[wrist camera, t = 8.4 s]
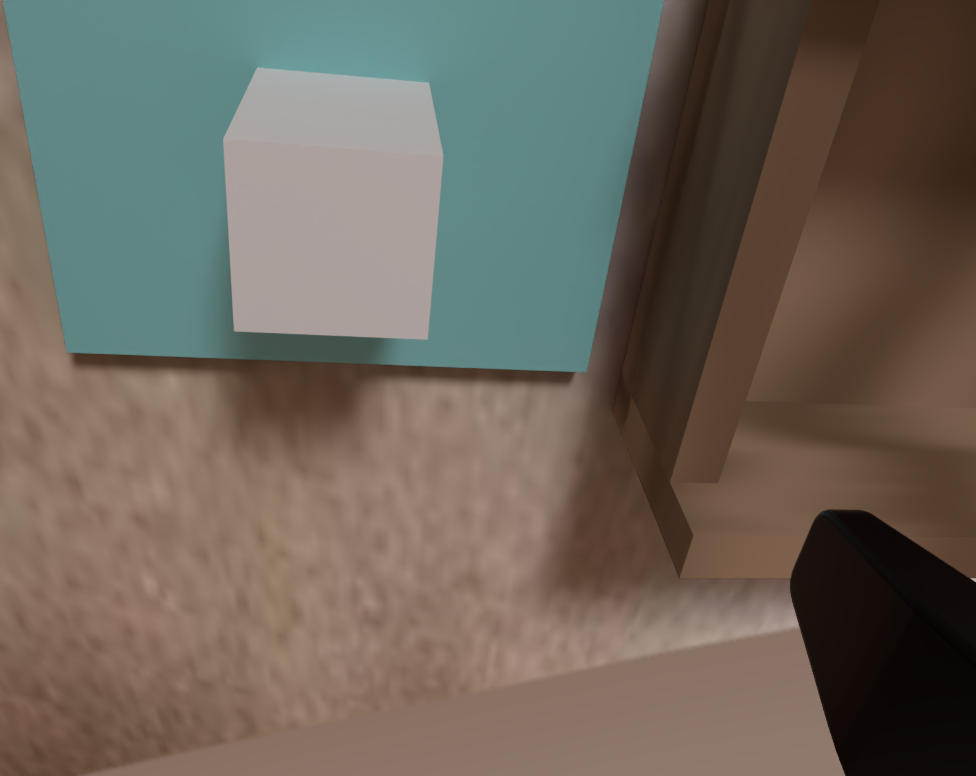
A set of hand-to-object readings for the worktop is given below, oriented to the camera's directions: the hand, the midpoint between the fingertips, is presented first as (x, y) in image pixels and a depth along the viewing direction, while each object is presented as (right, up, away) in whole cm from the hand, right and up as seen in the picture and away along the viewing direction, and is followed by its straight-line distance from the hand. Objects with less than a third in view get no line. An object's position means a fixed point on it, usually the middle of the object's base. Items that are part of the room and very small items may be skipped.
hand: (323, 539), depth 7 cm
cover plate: (-1, +6, +10) cm, 12 cm away
